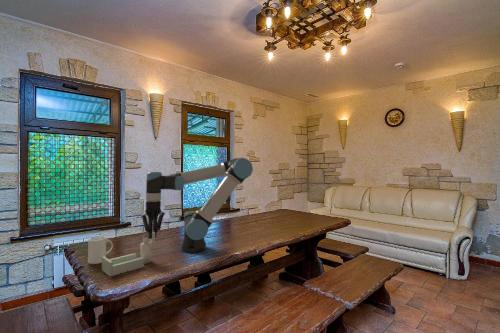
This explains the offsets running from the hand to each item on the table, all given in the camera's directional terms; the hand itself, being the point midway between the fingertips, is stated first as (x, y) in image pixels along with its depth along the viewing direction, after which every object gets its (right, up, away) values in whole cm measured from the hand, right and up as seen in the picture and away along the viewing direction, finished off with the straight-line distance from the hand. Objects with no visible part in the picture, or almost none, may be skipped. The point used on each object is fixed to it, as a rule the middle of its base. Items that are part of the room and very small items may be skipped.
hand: (152, 244), depth 142 cm
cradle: (-10, -9, -11) cm, 18 cm away
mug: (-27, -8, -2) cm, 28 cm away
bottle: (-2, -9, -2) cm, 9 cm away
